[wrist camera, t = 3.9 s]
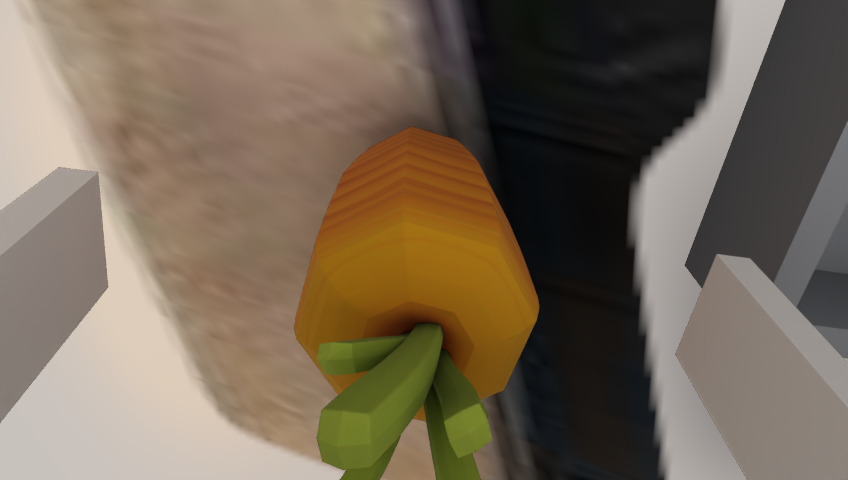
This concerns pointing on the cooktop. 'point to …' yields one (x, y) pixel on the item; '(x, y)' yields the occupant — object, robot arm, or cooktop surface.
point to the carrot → (413, 305)
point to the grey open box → (791, 171)
